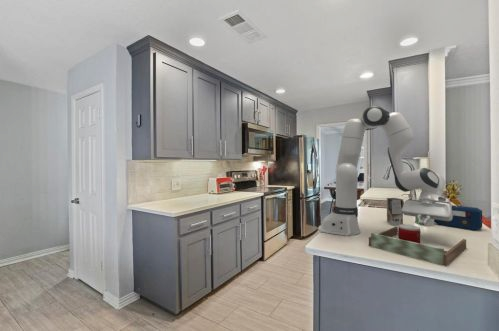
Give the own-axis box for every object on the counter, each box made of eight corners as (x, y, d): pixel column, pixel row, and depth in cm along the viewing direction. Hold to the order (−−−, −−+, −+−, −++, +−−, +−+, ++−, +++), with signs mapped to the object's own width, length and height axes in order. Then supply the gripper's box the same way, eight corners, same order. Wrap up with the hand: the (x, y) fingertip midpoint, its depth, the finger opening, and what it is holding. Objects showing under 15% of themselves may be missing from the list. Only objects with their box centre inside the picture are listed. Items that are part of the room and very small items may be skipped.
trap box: (368, 245, 113) (368, 232, 113) (395, 233, 131) (395, 222, 131) (446, 266, 90) (446, 250, 90) (466, 248, 108) (466, 235, 108)
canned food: (421, 256, 100) (421, 229, 100) (398, 253, 104) (398, 227, 104) (419, 250, 106) (419, 225, 106) (398, 247, 110) (398, 223, 110)
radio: (433, 224, 150) (433, 192, 150) (437, 222, 155) (437, 191, 155) (479, 232, 133) (479, 196, 133) (482, 229, 138) (482, 194, 138)
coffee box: (403, 226, 147) (403, 199, 147) (391, 225, 148) (391, 199, 148) (397, 222, 156) (397, 197, 156) (386, 222, 157) (386, 197, 157)
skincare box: (414, 223, 154) (414, 198, 154) (424, 222, 155) (424, 198, 154) (424, 226, 146) (424, 200, 146) (435, 226, 146) (435, 200, 146)
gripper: (404, 195, 128) (396, 216, 122) (453, 199, 112) (447, 224, 106) (407, 202, 131) (400, 223, 125) (456, 207, 114) (450, 232, 108)
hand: (422, 224), depth 115 cm, fingers closed
